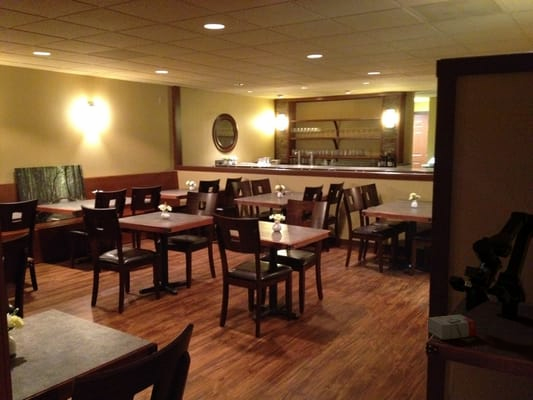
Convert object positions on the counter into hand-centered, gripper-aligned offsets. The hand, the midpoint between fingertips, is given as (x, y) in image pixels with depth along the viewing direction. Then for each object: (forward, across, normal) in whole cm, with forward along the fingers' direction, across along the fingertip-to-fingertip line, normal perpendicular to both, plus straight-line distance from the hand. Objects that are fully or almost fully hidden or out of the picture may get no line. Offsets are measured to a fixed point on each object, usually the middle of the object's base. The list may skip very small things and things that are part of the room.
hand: (467, 310), depth 146 cm
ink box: (+2, -1, +7) cm, 7 cm away
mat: (+7, 0, +5) cm, 9 cm away
